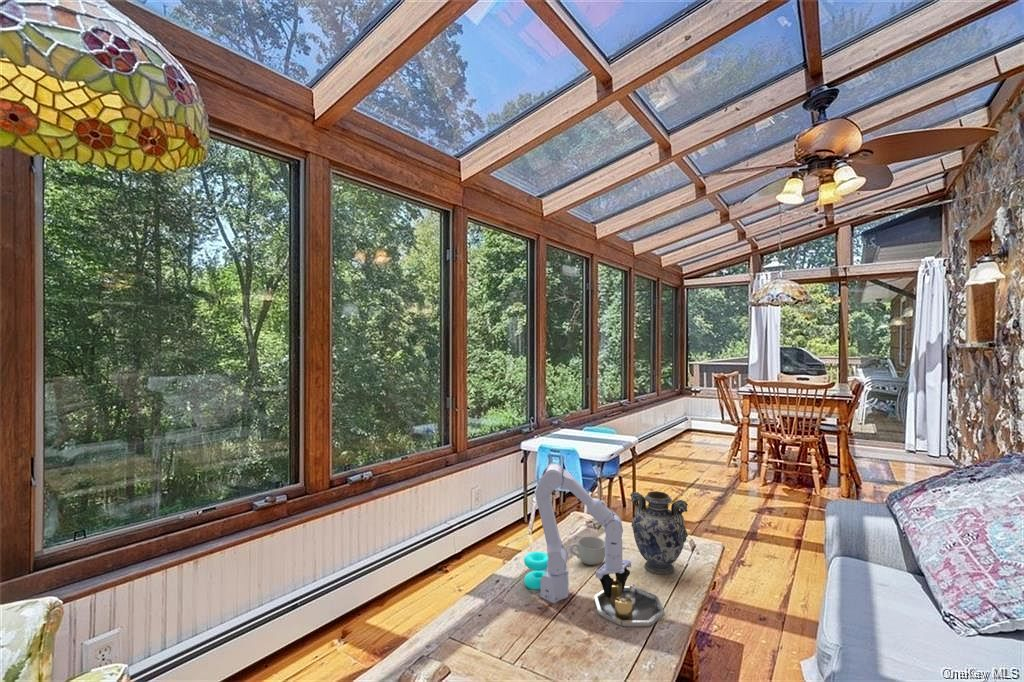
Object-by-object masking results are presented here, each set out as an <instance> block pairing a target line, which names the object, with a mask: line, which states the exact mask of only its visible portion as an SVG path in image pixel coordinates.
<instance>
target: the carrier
mask: <svg viewBox="0 0 1024 682" xmlns="http://www.w3.org/2000/svg"><path fill="white" fill-rule="evenodd" d="M635 585H636V584H633V583H630V584H629V585H625V586H624V590H623V592H622V595H621V596H619V597H616V598H615V602H610V601H609V600H607V599H606V596H605V594H604V590H603V589H601V590H600V591H599V592H597V593H596V594H594V595H593V601H594V607H595V609H596V612H597V614H598V615H599V616H600V617H603V618H604V619H605V620H607V621H610V622H611V623H613V624H614V623H615V624H616V625H618V626H622V627H631V628H632V627H634V628H635V627H636V628H638V627H639V628H640V627H651V626H652V625H654V624H656V623H658V621H659V620H660V619H661V618H662V617H664V616H665V609H664V608H663V606H662V603H661V601H660V600H659V597H658V596H657V595H656V594H654V593H651V592H649V591H647V590H644V589H641V588H639V587H637V586H635Z"/></svg>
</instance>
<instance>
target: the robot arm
mask: <svg viewBox="0 0 1024 682" xmlns="http://www.w3.org/2000/svg"><path fill="white" fill-rule="evenodd" d="M558 488H560V490H561V491H562V490H563V491H565V490H567V491H570V492H571V493H572V494H573V496H575V497H577V499H578V500H580V502H582V503H583V504H584V505H585V506H586V513H588V514H589V515H590V517H592V518H593V519H594V520H595V522H597V523H598V524H599V525H600V526H601V527H603V528H604V529H603V530H604V533H605V537H604V541H605V558H604V564H603V565H602V566H600V568H599V569H597V570H596V571H595V578H597V579H598V580H599V581H600V584H601V586H602V590H604V594H605V596H606V597H608V598H611V588H612V583H613V581H614V579H617V580H619V581H621V582H622V592H623V590H624V586H626V582H627V580H628V578H629V576H630V574H631V571H630V570H629V569H630V568H632V561H631V560H630V559H628V558H627V559H623V533H624V529H623V524H622V523H623V522H622V519H621V517H620V516H619V515H618V513H616V512H615V511H612V510H611V509H610V508H608V507H607V505H606V502H605V500H603V499H602V500H600V498H595V497H592V496H591V495H590V493H588V491H587V490H586V489H585V488H584V487H583V486H582V484H580V483H579V482H578V481H577V479H576V478H575V477H574V476H573V475H572V474H571V473H570V472H569V471H568V470H567V469H566V468H564V467H563V466H562V465H561V464H560V463H557V462H552V463H550V464H548V465H547V466H546V468H544V470H543V471H542V474H541V477H540V479H539V481H538V484H537V486H536V490H535V491H534V496H535V499H536V504H537V507H538V508H537V509H538V512H539V516H540V521H541V525H542V530H543V535H544V538H545V543H546V551H547V555H548V563H547V569H546V571H545V572H546V574H545V575H544V576H543V577H542V578H541V582H540V583H541V589H540V596H539V597H538V599H541V600H542V599H543V600H546V601H548V602H550V603H551V604H556V603H557V602H559V601H562V600H564V599H567V598H568V596H569V590H570V589H569V588H570V587H569V586H570V585H569V567H568V565H567V559H568V551H567V549H566V548H565V546H564V544H563V541H562V539H561V536H560V532H559V528H558V523H557V520H556V519H557V518H556V515H555V510H554V506H553V502H552V497H551V495H552V493H553V492H554V491H555V490H557V489H558ZM628 568H629V569H628ZM612 574H615V578H612V577H611V576H610V575H612Z"/></svg>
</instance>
